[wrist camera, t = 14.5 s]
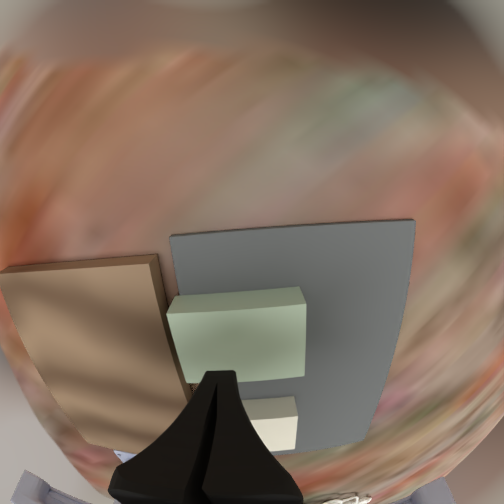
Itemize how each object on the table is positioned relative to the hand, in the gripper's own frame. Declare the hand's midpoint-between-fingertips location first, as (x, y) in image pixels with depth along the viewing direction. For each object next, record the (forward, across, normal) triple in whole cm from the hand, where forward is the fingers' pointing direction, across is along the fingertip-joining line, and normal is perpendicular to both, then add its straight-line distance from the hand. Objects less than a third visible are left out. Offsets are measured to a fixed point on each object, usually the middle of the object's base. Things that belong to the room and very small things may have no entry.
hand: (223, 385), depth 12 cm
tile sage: (+4, -1, 0) cm, 5 cm away
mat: (+5, -5, +5) cm, 8 cm away
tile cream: (+4, -1, +9) cm, 10 cm away
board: (+5, +10, +5) cm, 12 cm away
